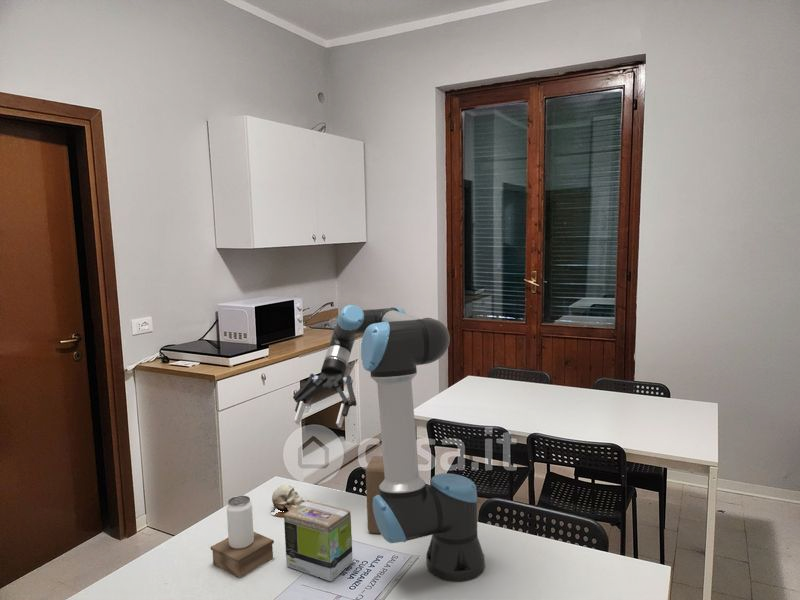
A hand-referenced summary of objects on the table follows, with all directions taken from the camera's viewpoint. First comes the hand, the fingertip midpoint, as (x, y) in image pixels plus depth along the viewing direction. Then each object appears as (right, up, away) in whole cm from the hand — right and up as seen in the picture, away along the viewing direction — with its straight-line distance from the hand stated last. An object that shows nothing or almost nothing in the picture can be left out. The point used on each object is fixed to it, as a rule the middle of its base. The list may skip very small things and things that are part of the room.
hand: (317, 424), depth 168 cm
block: (+21, -31, +1) cm, 37 cm away
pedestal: (-17, -33, -16) cm, 41 cm away
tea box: (+3, -33, -19) cm, 38 cm away
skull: (-11, -30, +14) cm, 35 cm away
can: (-18, -29, -16) cm, 37 cm away
